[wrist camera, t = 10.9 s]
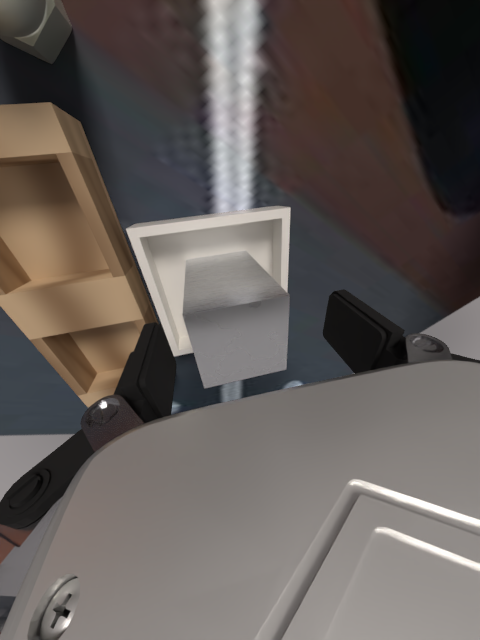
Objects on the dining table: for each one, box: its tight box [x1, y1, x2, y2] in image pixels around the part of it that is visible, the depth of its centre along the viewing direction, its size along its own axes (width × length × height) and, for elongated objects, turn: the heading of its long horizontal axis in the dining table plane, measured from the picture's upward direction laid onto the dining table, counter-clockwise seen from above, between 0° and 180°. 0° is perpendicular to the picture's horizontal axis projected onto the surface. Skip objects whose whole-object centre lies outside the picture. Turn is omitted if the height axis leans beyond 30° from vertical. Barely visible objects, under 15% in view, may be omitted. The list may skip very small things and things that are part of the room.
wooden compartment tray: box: [0, 102, 158, 407], centre depth 15 cm, size 8×20×3 cm, turn 6°
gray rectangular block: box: [183, 251, 290, 389], centre depth 14 cm, size 5×5×9 cm
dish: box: [126, 206, 290, 356], centre depth 17 cm, size 11×11×2 cm
